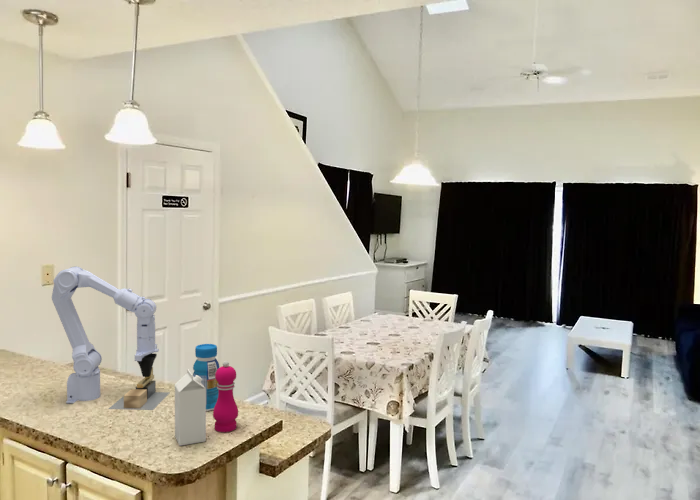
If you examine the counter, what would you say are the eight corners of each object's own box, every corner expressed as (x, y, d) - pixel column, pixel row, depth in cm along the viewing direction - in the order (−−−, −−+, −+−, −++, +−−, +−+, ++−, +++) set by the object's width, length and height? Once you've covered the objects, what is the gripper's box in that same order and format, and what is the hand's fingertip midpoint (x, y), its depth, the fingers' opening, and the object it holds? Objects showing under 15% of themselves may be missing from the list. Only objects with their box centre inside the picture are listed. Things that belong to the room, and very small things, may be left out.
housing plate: (108, 412, 169) (107, 396, 169) (129, 394, 185) (129, 379, 184) (152, 413, 169) (152, 397, 168) (170, 395, 185) (170, 380, 184)
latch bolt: (136, 387, 176) (136, 375, 176) (148, 378, 186) (148, 366, 186) (142, 387, 176) (142, 375, 176) (154, 378, 186) (154, 366, 186)
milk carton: (179, 446, 146) (179, 377, 145) (174, 436, 152) (174, 370, 151) (206, 441, 149) (205, 374, 148) (200, 432, 156) (200, 367, 154)
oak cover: (123, 408, 170) (123, 395, 170) (131, 401, 176) (131, 389, 176) (139, 408, 170) (139, 395, 170) (147, 401, 176) (146, 389, 175)
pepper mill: (225, 435, 154) (225, 366, 152) (207, 429, 158) (207, 361, 156) (243, 426, 160) (243, 360, 158) (225, 421, 164) (225, 356, 162)
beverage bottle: (190, 412, 170) (190, 349, 169) (195, 402, 179) (195, 342, 177) (217, 411, 171) (217, 349, 169) (221, 402, 179) (221, 342, 178)
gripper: (149, 342, 173) (150, 383, 174) (165, 331, 188) (165, 370, 189) (127, 341, 173) (128, 383, 174) (145, 331, 188) (145, 369, 189)
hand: (146, 376), depth 182 cm, fingers closed
